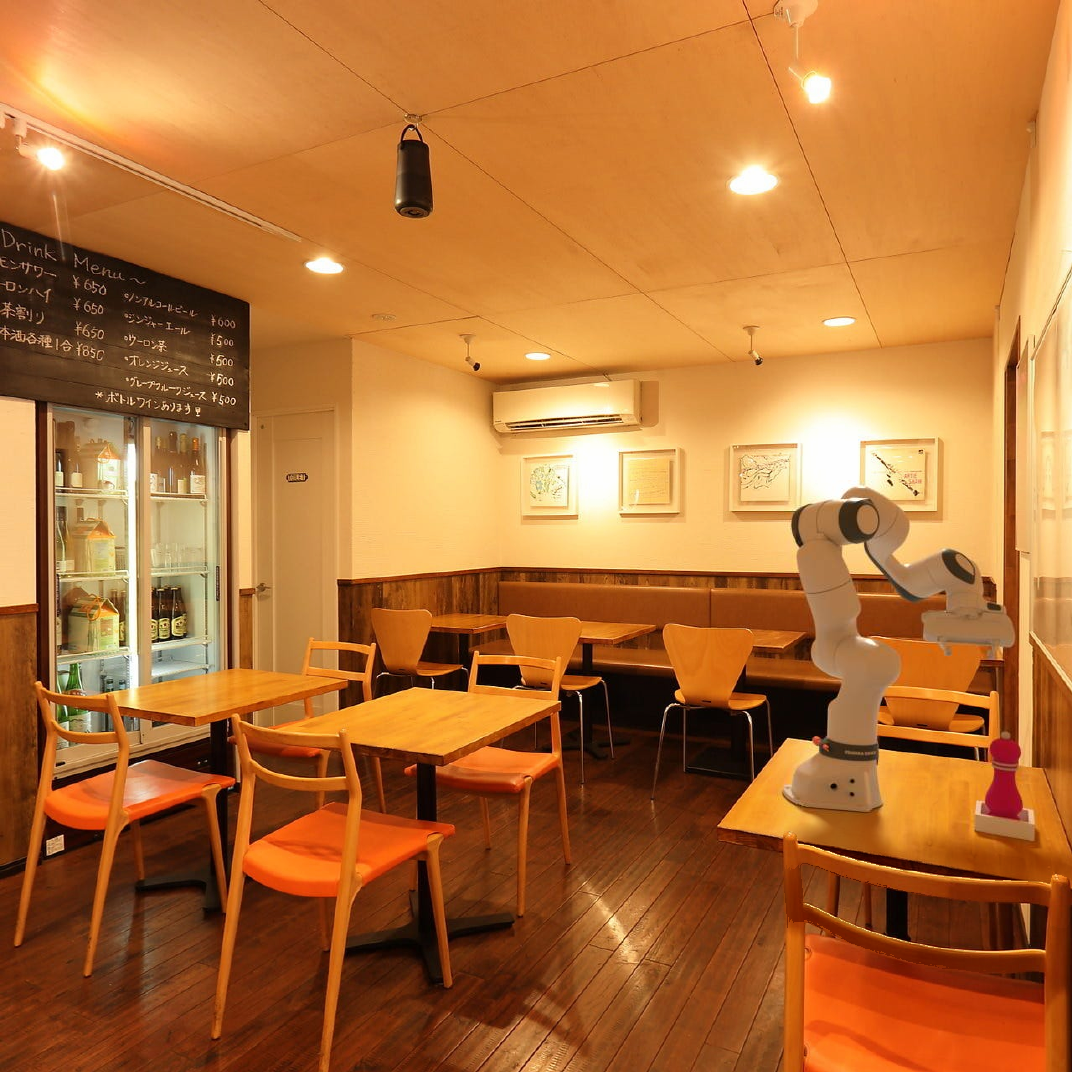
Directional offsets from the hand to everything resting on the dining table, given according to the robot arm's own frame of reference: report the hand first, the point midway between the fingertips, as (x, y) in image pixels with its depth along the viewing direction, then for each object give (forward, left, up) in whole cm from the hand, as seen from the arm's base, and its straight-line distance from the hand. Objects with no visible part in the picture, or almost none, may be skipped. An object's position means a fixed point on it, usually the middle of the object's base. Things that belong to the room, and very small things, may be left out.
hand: (969, 655), depth 199 cm
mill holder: (-3, -21, -34) cm, 41 cm away
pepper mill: (-3, -21, -34) cm, 40 cm away
